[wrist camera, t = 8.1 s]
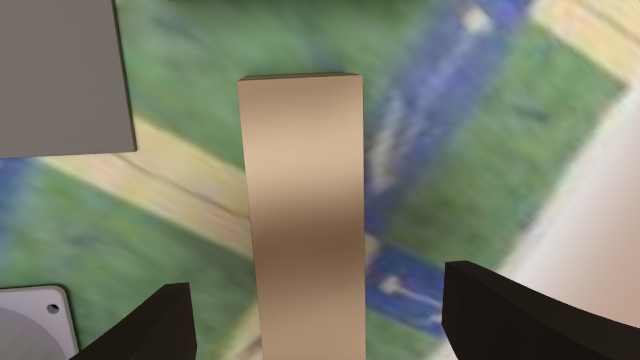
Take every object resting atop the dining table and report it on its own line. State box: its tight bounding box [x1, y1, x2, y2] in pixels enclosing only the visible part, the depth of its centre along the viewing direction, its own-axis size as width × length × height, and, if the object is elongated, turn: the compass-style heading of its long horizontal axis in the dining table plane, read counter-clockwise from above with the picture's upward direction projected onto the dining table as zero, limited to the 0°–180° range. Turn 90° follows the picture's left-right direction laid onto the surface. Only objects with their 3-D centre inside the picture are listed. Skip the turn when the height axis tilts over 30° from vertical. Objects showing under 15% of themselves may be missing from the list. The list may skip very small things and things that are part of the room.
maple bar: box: [237, 72, 366, 360], centre depth 17 cm, size 12×4×5 cm, turn 2°
